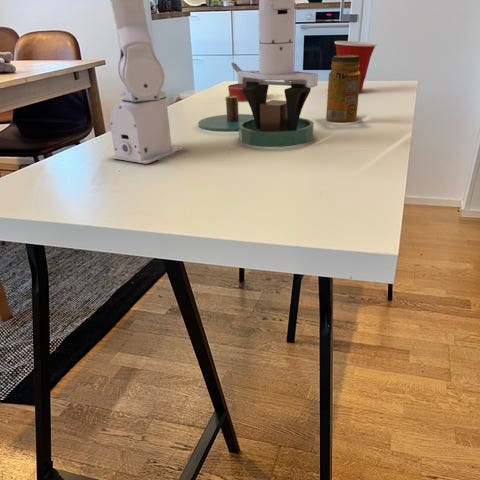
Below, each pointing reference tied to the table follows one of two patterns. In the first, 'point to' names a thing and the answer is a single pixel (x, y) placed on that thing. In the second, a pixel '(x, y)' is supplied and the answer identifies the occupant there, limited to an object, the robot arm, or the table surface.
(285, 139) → the tin
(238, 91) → the canned food
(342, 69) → the condiment
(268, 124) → the block
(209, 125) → the lid
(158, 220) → the table surface
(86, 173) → the table surface
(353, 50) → the plastic cup
